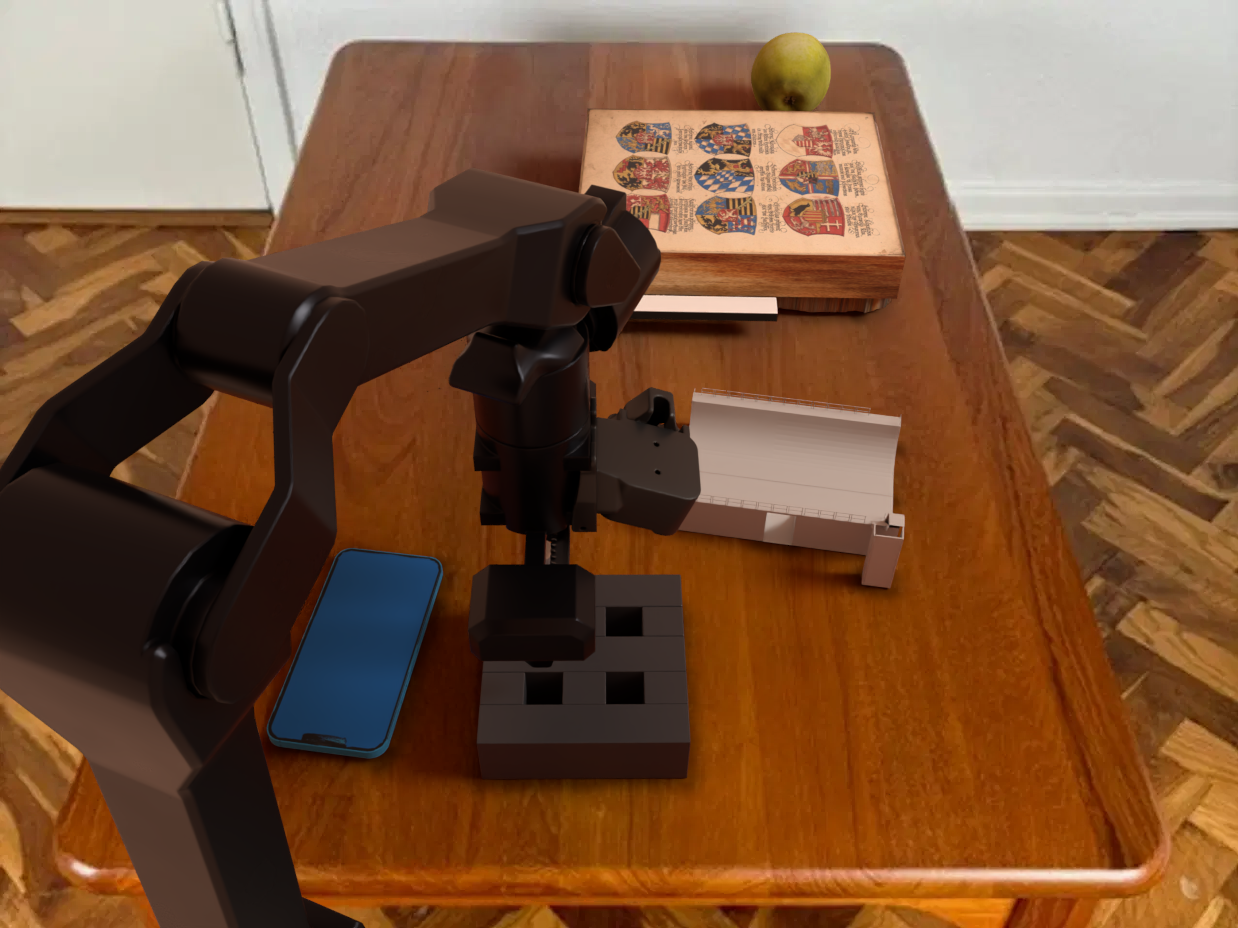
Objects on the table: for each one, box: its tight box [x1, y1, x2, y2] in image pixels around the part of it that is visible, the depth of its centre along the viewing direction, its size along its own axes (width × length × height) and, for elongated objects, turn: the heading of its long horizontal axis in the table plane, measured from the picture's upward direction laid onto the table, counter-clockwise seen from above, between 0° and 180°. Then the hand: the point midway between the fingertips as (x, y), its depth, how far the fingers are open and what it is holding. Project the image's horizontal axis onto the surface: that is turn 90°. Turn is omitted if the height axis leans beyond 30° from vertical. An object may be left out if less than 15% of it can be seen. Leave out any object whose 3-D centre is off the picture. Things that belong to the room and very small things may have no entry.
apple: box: [750, 32, 832, 111], centre depth 118 cm, size 8×9×8 cm
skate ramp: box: [677, 387, 906, 590], centre depth 82 cm, size 15×13×5 cm
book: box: [578, 107, 907, 323], centre depth 103 cm, size 25×6×28 cm
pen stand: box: [476, 573, 691, 780], centre depth 72 cm, size 12×12×4 cm
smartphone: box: [266, 547, 444, 760], centre depth 75 cm, size 7×1×15 cm
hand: (544, 599), depth 70 cm, fingers open, 9 cm apart
